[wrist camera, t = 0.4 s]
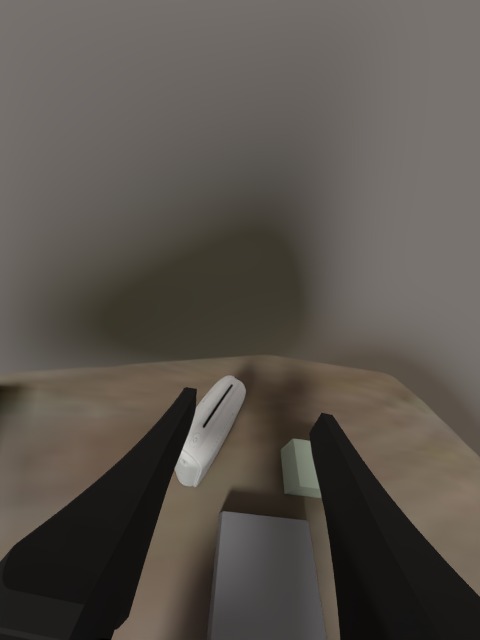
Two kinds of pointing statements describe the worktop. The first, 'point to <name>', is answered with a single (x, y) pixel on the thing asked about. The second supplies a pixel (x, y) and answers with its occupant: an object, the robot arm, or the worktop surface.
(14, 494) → the worktop surface
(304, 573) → the grey block
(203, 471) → the photo printer
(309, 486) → the green cube
